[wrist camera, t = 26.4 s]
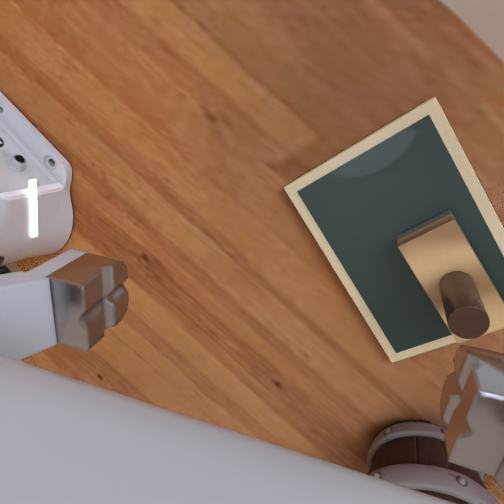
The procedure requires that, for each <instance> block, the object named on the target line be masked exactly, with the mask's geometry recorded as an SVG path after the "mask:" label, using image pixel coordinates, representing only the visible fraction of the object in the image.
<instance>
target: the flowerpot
mask: <svg viewBox="0 0 504 504" xmlns="http://www.w3.org/2000/svg"><path fill="white" fill-rule="evenodd" d="M445 432H446V428H443V427H440V426H437V425H434V424H432V423H431V422H429V421H425V420H418V421H417V422H414V421H412V420H407V421H401V422H398V423H396V424H393V425H390V426H388V427H387V428H386V429H384V430H383V431H382V432H381V433H379V434H378V436H377V437H376V438H375V440H374V441H373V443H372V445H371V448H370V451H369V453H368V457H367V463H366V464H367V470H368V474H367V475H370V476H373V477H376V478H379V479H382V480H386V481H389V482H392V483H395V484H398V485H401V486H404V487H407V488H410V489H413V490H416V491H419V492H422V493H425V494H428V495H431V496H434V497H438V498H441V499H444V500H447V501H450V502H453V503H456V504H499V503H498V501H497V500H496V499H495V498H494V496H492V495H491V494H490V493H489V492H488V491H487V489H486V487H485V485H484V474H483V473H481V472H478V471H475V470H472V469H469V468H466V467H463V466H460V465H457V464H454V463H451V462H448V456H447V450H446V444H445V438H444V435H445Z"/></svg>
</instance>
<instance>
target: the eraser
mask: <svg viewBox="0 0 504 504" xmlns="http://www.w3.org/2000/svg"><path fill="white" fill-rule="evenodd" d="M397 241H398V248H399V250H400V252H401V253H402V255H403V256H404V258H405V260H406V261H407V263H408V264H409V266H410V268H411V269H412V271H413V272H414V274H415V276H416V277H417V279H418V280H419V282H420V284H421V285H422V287H423V288H424V290H425V292H426V293H427V295H428V296H429V298H430V300H431V301H432V303H433V304H434V306H435V308H436V309H437V311H438V312H439V314H440V316H441V317H442V319H443V320H444V322H445V324H446V325H447V327H448V328H449V330H450V332H451V333H452V335H453V336H454V338H455V340H456V341H457V343H458V344H459V343H462V342H465V341H468V340H471V339H474V338H477V337H480V336H482V335H485V334H488V333H491V332H494V331H497V330H500V329H502V328H504V301H503V299H502V297H501V296H500V294H499V292H498V291H497V289H496V287H495V285H494V284H493V282H492V280H491V279H490V277H489V275H488V274H487V272H486V270H485V269H484V267H483V265H482V263H481V262H480V260H479V258H478V257H477V255H476V253H475V252H474V250H473V248H472V246H471V245H470V243H469V241H468V240H467V238H466V236H465V235H464V233H463V231H462V229H461V228H460V226H459V224H458V223H457V221H456V219H455V218H454V216H453V214H452V212H451V211H450V210H448V211H446V212H444V213H442V214H440V215H438V216H436V217H434V218H432V219H430V220H428V221H426V222H424V223H422V224H420V225H418V226H416V227H414V228H412V229H410V230H408V231H406V232H404V233H402V234H400V235H398V236H397Z"/></svg>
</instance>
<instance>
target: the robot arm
mask: <svg viewBox="0 0 504 504" xmlns="http://www.w3.org/2000/svg"><path fill="white" fill-rule="evenodd" d="M53 161H54V163H55V164H54V163H53ZM71 181H72V168H71V165H70V164H69V162H68V161H67V160H66V159H65V158H64V157H63V156H62V155H61V154H60V153H59V152H58V151H57V150H56V148H55V147H54V146H53V145H52V144H51V143H50V142H49V141H48V140H47V139H46V138H45V137H44V136H43V135H42V134H41V133H40V132H39V131H38V130H37V129H36V128H35V127H34V126H33V125H32V124H31V123H30V122H29V121H28V119H27V118H26V117H25V116H24V115H23V114H22V113H21V112H20V111H19V110H18V109H17V108H16V107H15V106H14V105H13V104H12V103H11V102H10V101H9V100H8V99H7V98H6V97H5V96H4V95H3V94H2V93H1V91H0V267H1V266H4V265H7V264H10V263H13V262H16V261H19V260H23V259H26V258H31V257H35V256H42V255H49V254H52V253H55V252H57V251H58V250H60V249H61V248H62V247H63V246H64V245H65V244H66V242H67V241H68V239H69V237H70V234H71V231H72V226H73V209H72V203H71V198H70V186H71ZM127 278H128V274H127V266H126V265H125V264H124V262H122V261H118V260H114V259H110V258H107V257H103V256H99V255H95V254H91V253H89V252H84V251H79V250H74V249H69V250H67V251H65V252H63V253H61V254H60V255H58V256H56V257H54V258H52V259H50V260H48V261H46V262H44V263H43V264H41V265H39V266H37V267H35V268H33V269H31V270H29V271H28V272H23V271H18V272H12V273H6V274H0V504H456V503H453V502H450V501H447V500H444V499H441V498H438V497H434V496H431V495H428V494H425V493H422V492H419V491H416V490H413V489H410V488H407V487H404V486H401V485H398V484H395V483H392V482H389V481H386V480H382V479H379V478H376V477H373V476H370V475H367V474H364V473H361V472H358V471H355V470H352V469H349V468H346V467H343V466H340V465H337V464H334V463H330V462H327V461H324V460H321V459H318V458H315V457H312V456H309V455H306V454H303V453H300V452H297V451H294V450H291V449H288V448H285V447H282V446H278V445H275V444H272V443H269V442H266V441H263V440H260V439H257V438H254V437H251V436H248V435H245V434H242V433H239V432H236V431H233V430H229V429H226V428H223V427H220V426H217V425H214V424H211V423H208V422H205V421H202V420H199V419H196V418H193V417H190V416H187V415H184V414H181V413H178V412H175V411H171V410H168V409H165V408H162V407H159V406H156V405H153V404H150V403H147V402H144V401H141V400H138V399H135V398H132V397H129V396H126V395H123V394H120V393H116V392H113V391H110V390H107V389H104V388H101V387H98V386H95V385H92V384H89V383H86V382H83V381H80V380H77V379H74V378H71V377H68V376H65V375H62V374H58V373H55V372H52V371H49V370H46V369H43V368H40V367H37V366H34V365H31V364H28V363H25V362H22V361H19V360H21V359H24V358H26V357H28V356H31V355H33V354H36V353H38V352H40V351H43V350H45V349H48V348H50V347H53V346H55V345H57V343H59V344H63V345H67V346H70V347H74V348H78V349H81V350H85V351H88V350H89V349H90V348H92V347H93V346H94V345H95V344H96V343H97V342H98V341H99V340H100V339H102V338H103V337H104V330H105V329H108V328H111V327H114V326H116V325H117V324H118V323H119V322H120V321H121V320H122V318H123V316H124V314H125V313H126V311H127V306H128V301H129V300H128V292H127V290H126V288H125V287H124V285H123V283H124V282H125V281H126V280H127ZM453 362H454V367H455V372H453V373H451V374H450V375H448V376H447V377H446V380H445V383H444V386H443V389H442V395H441V401H440V410H441V418H442V420H443V421H444V422H445V424H446V425H447V426H448V427H447V429H446V432H445V435H444V438H445V444H446V450H447V456H448V462H451V463H454V464H457V465H460V466H463V467H466V468H469V469H472V470H475V471H478V472H481V473H484V474H487V475H490V476H493V477H495V481H496V482H497V483H498V485H499V486H500V487H501V489H502V490H503V492H504V354H503V353H498V352H494V351H489V350H485V349H480V348H476V347H471V346H467V345H460V346H459V348H458V349H457V351H456V354H455V356H454V359H453Z"/></svg>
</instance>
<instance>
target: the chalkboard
mask: <svg viewBox="0 0 504 504" xmlns="http://www.w3.org/2000/svg"><path fill="white" fill-rule="evenodd" d="M284 189H285V191H286V193H287V194H288V196H289V197H290V199H291V201H292V202H293V204H294V206H295V207H296V209H297V210H298V212H299V214H300V215H301V217H302V218H303V220H304V222H305V223H306V225H307V227H308V228H309V230H310V231H311V233H312V235H313V236H314V238H315V239H316V241H317V243H318V244H319V246H320V248H321V249H322V251H323V252H324V254H325V256H326V257H327V259H328V261H329V262H330V264H331V265H332V267H333V269H334V270H335V272H336V273H337V275H338V277H339V278H340V280H341V282H342V283H343V285H344V286H345V288H346V290H347V291H348V293H349V294H350V296H351V298H352V299H353V301H354V303H355V304H356V306H357V307H358V309H359V311H360V312H361V314H362V315H363V317H364V319H365V320H366V322H367V324H368V325H369V327H370V328H371V330H372V332H373V333H374V335H375V336H376V338H377V340H378V341H379V343H380V345H381V346H382V348H383V349H384V351H385V353H386V354H387V356H388V358H389V359H390V361H391V362H396V361H399V360H402V359H405V358H408V357H411V356H414V355H417V354H420V353H424V352H427V351H430V350H433V349H436V348H439V347H442V346H445V345H448V344H451V343H455V342H457V341H456V340H455V338H454V336H453V335H452V333H451V332H450V330H449V328H448V327H447V325H446V324H445V322H444V320H443V319H442V317H441V316H440V314H439V312H438V311H437V309H436V308H435V306H434V304H433V303H432V301H431V300H430V298H429V296H428V295H427V293H426V292H425V290H424V288H423V287H422V285H421V284H420V282H419V280H418V279H417V277H416V276H415V274H414V272H413V271H412V269H411V268H410V266H409V264H408V263H407V261H406V260H405V258H404V256H403V255H402V253H401V252H400V250H399V248H398V241H397V236H398V235H400V234H402V233H404V232H406V231H408V230H410V229H412V228H414V227H416V226H418V225H420V224H422V223H424V222H426V221H428V220H430V219H432V218H434V217H436V216H438V215H440V214H442V213H444V212H446V211H448V210H450V211H451V212H452V214H453V216H454V218H455V219H456V221H457V223H458V224H459V226H460V228H461V229H462V231H463V233H464V235H465V236H466V238H467V240H468V241H469V243H470V245H471V246H472V248H473V250H474V252H475V253H476V255H477V257H478V258H479V260H480V262H481V263H482V265H483V267H484V269H485V270H486V272H487V274H488V275H489V277H490V279H491V280H492V282H493V284H494V285H495V287H496V289H497V291H498V292H499V294H500V296H501V297H502V299H503V301H504V228H503V226H502V224H501V222H500V220H499V218H498V216H497V214H496V212H495V211H494V209H493V207H492V205H491V203H490V201H489V199H488V197H487V195H486V193H485V191H484V189H483V187H482V186H481V184H480V182H479V180H478V178H477V176H476V174H475V172H474V170H473V168H472V166H471V164H470V162H469V160H468V159H467V157H466V155H465V153H464V151H463V149H462V147H461V145H460V143H459V141H458V139H457V137H456V135H455V134H454V132H453V130H452V128H451V126H450V124H449V122H448V120H447V118H446V116H445V114H444V112H443V110H442V109H441V107H440V105H439V103H438V101H437V99H436V97H434V96H433V97H432V98H430V99H428V100H427V101H425V102H423V103H422V104H420V105H418V106H417V107H415V108H413V109H412V110H410V111H408V112H407V113H405V114H403V115H402V116H400V117H398V118H397V119H395V120H393V121H392V122H390V123H388V124H387V125H385V126H383V127H382V128H380V129H378V130H377V131H375V132H373V133H372V134H370V135H368V136H367V137H365V138H363V139H362V140H360V141H358V142H357V143H355V144H353V145H352V146H350V147H348V148H347V149H345V150H343V151H342V152H340V153H338V154H337V155H335V156H333V157H332V158H330V159H328V160H327V161H325V162H323V163H322V164H320V165H318V166H317V167H315V168H313V169H312V170H310V171H308V172H307V173H305V174H303V175H302V176H300V177H298V178H297V179H295V180H293V181H292V182H290V183H288V184H287V185H285V186H284Z"/></svg>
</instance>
